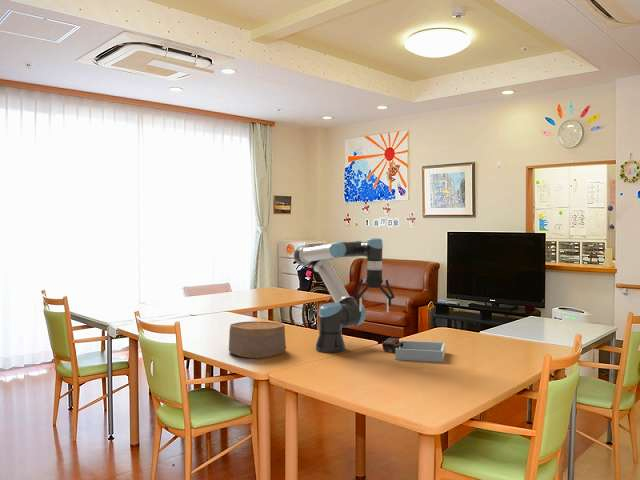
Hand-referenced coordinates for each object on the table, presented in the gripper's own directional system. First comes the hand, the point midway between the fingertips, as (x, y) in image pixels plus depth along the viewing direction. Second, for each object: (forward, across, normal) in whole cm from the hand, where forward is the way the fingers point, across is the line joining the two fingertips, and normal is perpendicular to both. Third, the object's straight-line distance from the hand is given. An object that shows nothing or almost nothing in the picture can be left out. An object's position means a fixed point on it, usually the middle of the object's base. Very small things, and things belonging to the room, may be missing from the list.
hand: (374, 311), depth 271 cm
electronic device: (+16, +9, 0) cm, 19 cm away
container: (+22, -57, -12) cm, 63 cm away
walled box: (+20, +23, -3) cm, 31 cm away
